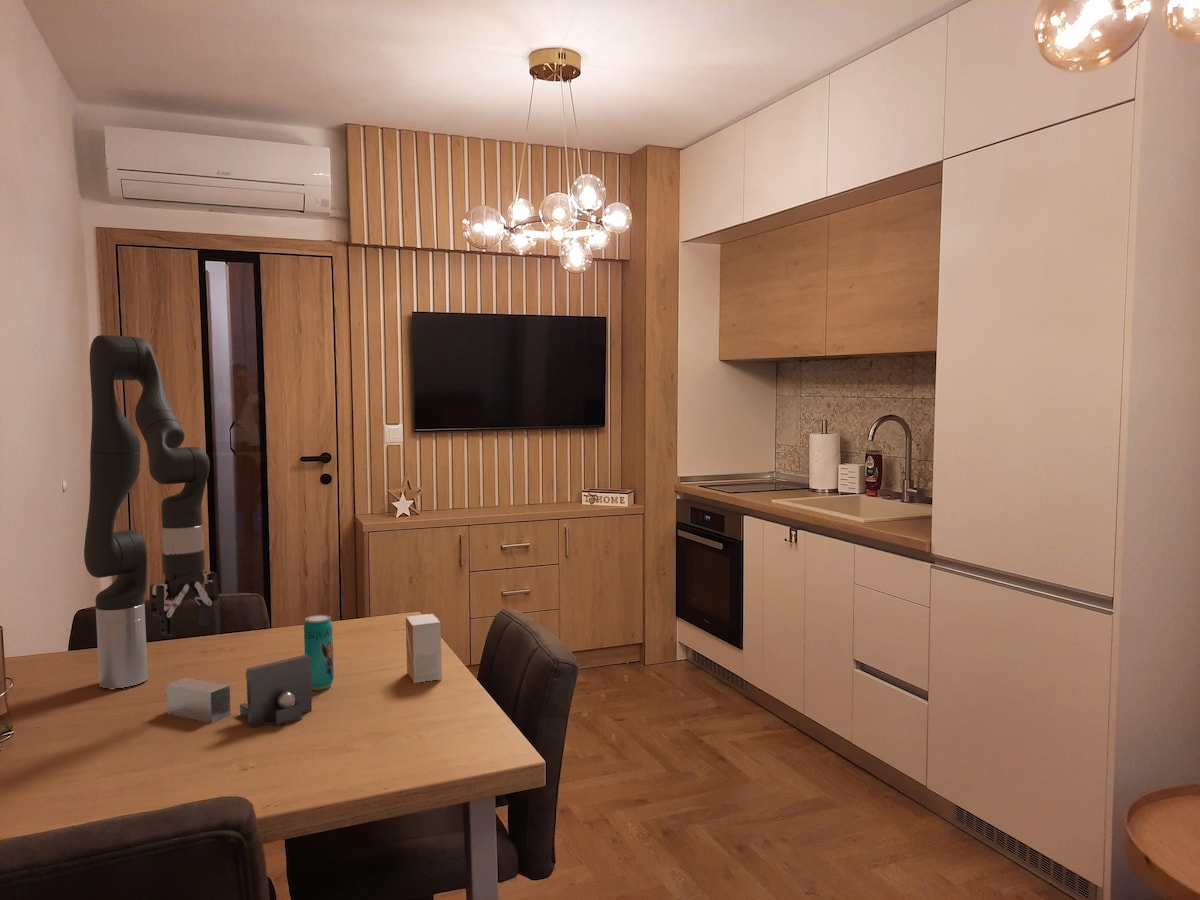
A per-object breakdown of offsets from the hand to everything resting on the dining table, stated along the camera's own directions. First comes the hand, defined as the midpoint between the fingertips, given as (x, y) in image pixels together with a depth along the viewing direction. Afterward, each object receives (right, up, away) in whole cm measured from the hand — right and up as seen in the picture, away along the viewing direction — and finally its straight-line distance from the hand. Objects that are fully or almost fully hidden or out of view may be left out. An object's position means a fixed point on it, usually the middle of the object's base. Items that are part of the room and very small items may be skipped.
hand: (186, 630), depth 167 cm
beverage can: (+22, -15, +14) cm, 30 cm away
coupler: (+19, -16, -2) cm, 25 cm away
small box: (+43, -15, +20) cm, 50 cm away
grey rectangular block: (+3, -17, -1) cm, 17 cm away
